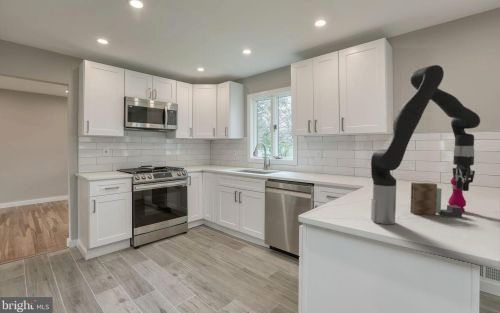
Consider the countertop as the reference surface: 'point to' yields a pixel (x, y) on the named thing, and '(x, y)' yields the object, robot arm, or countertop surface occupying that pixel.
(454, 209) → the block
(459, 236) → the countertop surface
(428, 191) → the brown upright flat box
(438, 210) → the sliding door
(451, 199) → the pepper mill
